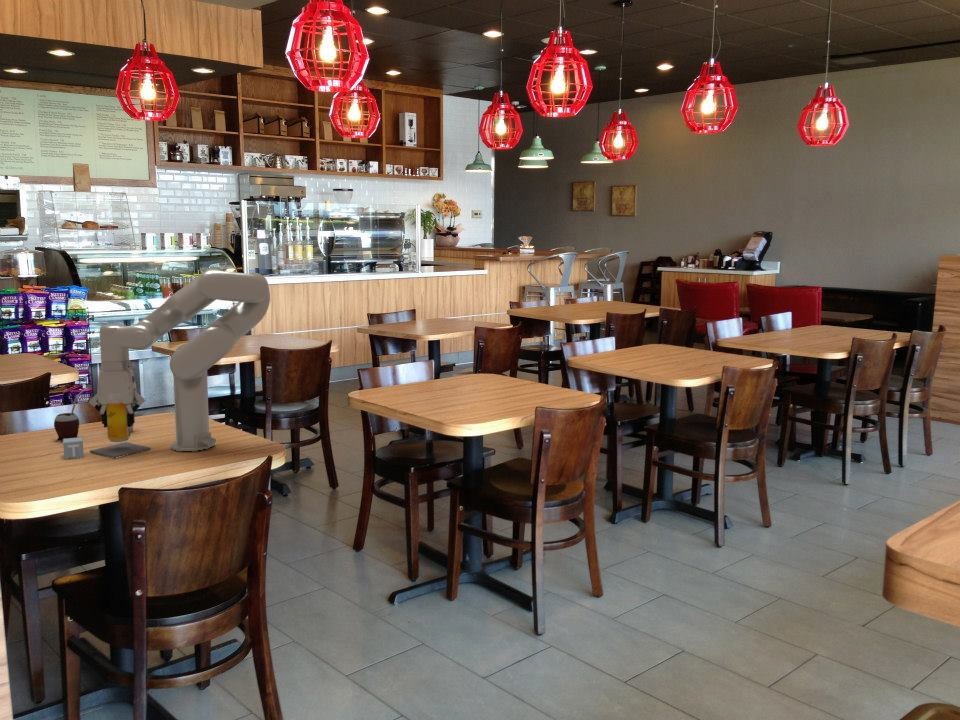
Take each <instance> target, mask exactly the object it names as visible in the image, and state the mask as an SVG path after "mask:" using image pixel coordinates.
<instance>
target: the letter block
mask: <svg viewBox="0 0 960 720" xmlns="http://www.w3.org/2000/svg"><path fill="white" fill-rule="evenodd" d="M83 441H84V440H83V437H80V436H79V437H78V436H77V438H68V439H63V442H62V445H63V459H65V460H68V459H67V458H75V459H78V458H77V457H84V458H85V455H84V442H83Z"/></svg>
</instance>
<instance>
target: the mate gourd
mask: <svg viewBox="0 0 960 720" xmlns="http://www.w3.org/2000/svg"><path fill="white" fill-rule="evenodd" d="M83 392H84V390H81V391H80V392H79V393H77V395H76V396H75V398H74V400H73V406H72V409H71V412H65V413H59V414H57V415H56V416H55V418H54V422H53V427H54V430H55V432H56V434H57V440H58V441H59V440H60V441H61V443H63V439H68V438H78V436H79V435H78V434H79V429H80V420H79V417H78V415H77V414H76V413H74V410H75V408H76V404H77V401H78V398H79V397H80V395H82V393H83Z"/></svg>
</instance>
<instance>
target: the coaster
mask: <svg viewBox="0 0 960 720" xmlns="http://www.w3.org/2000/svg"><path fill="white" fill-rule="evenodd" d="M150 449H151V450H152V447H150V446H146V445H140V444H136V443H132V442H127V441H123V442H119V443H116V444H113V445H109V446H104V447H100V448H95V449H90V450H89V453H90V452H91V454H94V453H95V454H94V455H98V454H99V456H102V455H104V456H103V457H106V456H109V457H108V458H110V457H113V458H112V459H114V458H115V459H117V458H116V457H119V456H123V455H127V454H131V455H133V454H132V453H135V454H137V453H136V452H139V453H142V452H141V451H143V452H147V451H150ZM146 450H147V451H146ZM127 456H128V455H127ZM123 457H124V456H123ZM119 458H120V457H119Z"/></svg>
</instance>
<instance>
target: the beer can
mask: <svg viewBox="0 0 960 720" xmlns="http://www.w3.org/2000/svg"><path fill="white" fill-rule="evenodd" d="M106 412H107V427H106V428H107V431H106V432H107V439H108V440H109V441H110V442H111V443H124V442H127V441H128V440H129V439H130V437H131V432H130V427H128V422H127V414H128V412H129V411H128V409H127V407H126V405H125V404H123V400H122V396H121V395H120V394H119V393H118V392H111V393H110V394H109V395H108V397H107V405H106Z"/></svg>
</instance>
